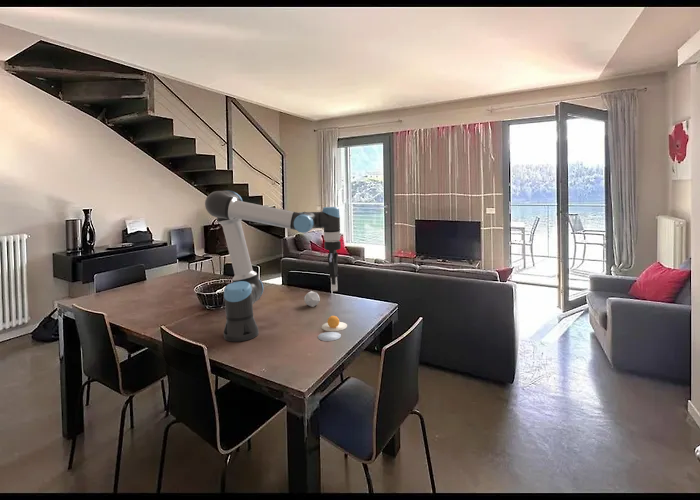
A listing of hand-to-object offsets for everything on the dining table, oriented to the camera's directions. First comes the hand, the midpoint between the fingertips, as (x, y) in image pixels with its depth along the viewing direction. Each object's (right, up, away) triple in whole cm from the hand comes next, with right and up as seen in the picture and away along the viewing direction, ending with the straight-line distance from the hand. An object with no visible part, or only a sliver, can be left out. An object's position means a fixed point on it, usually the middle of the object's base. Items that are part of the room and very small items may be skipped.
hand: (334, 290), depth 180 cm
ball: (0, -14, -2) cm, 14 cm away
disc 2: (-2, -19, -12) cm, 23 cm away
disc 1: (0, -17, -1) cm, 17 cm away
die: (-13, -12, +32) cm, 37 cm away
